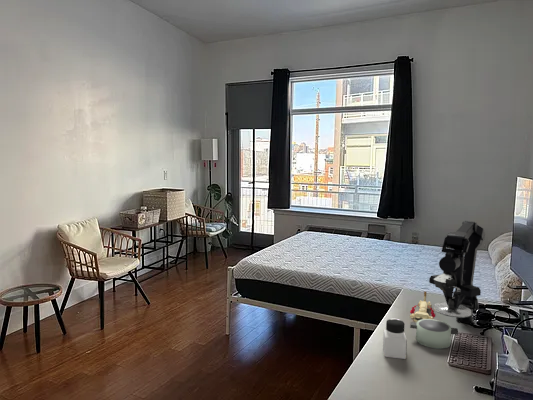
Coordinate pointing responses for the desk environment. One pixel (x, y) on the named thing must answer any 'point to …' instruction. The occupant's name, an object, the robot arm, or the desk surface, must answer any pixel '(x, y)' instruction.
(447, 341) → the pot
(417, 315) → the cat figure
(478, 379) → the desk surface
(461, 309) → the lid
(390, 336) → the medicine bottle
